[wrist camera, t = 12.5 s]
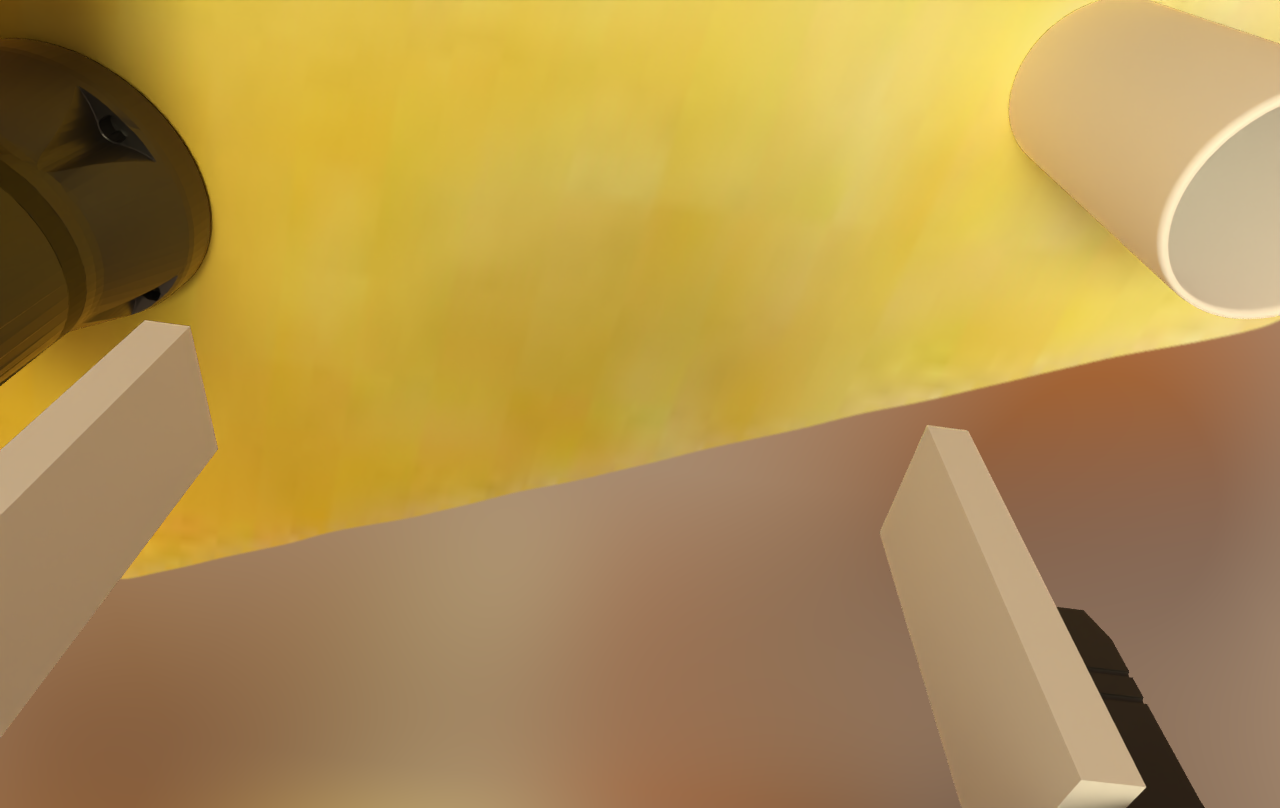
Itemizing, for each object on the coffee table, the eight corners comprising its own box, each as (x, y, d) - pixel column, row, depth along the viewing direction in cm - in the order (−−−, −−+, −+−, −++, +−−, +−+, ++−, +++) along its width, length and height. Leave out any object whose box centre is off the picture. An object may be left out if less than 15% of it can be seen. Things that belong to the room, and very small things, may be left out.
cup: (973, 117, 40) (1106, 247, 27) (1105, -42, 36) (1341, 22, 23) (1088, 199, 42) (1264, 357, 29) (1226, 59, 38) (1506, 171, 25)
